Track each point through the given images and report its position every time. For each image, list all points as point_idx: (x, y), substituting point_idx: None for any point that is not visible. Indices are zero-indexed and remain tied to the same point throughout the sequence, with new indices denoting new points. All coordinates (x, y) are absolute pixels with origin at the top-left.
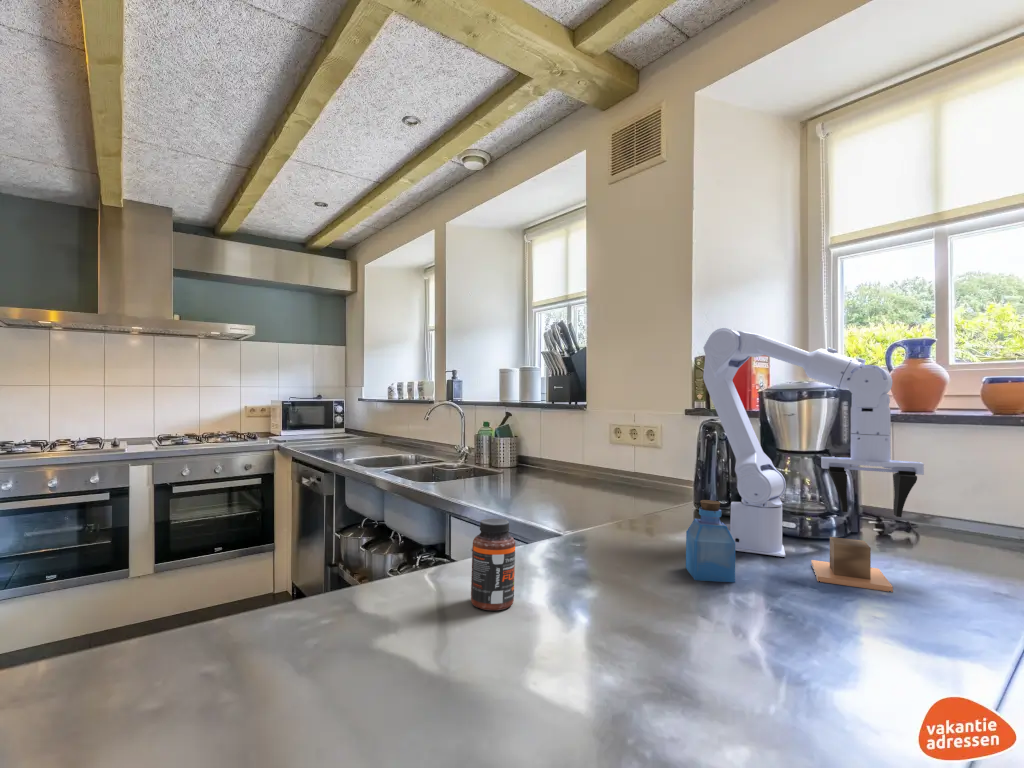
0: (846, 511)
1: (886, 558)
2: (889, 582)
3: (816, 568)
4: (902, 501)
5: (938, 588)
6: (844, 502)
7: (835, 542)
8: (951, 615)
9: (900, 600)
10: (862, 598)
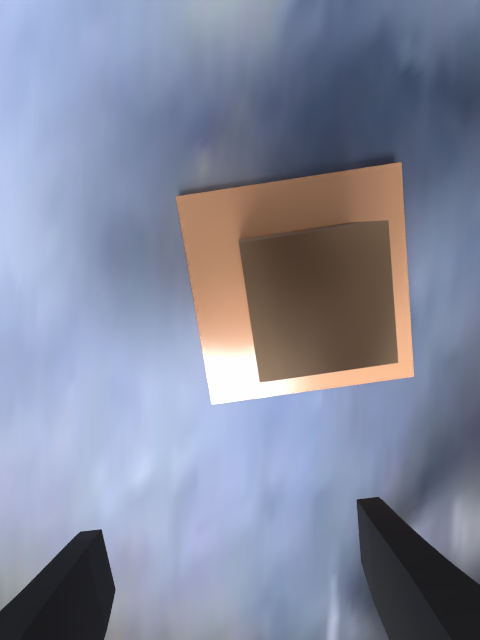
0: (362, 502)
1: (187, 591)
2: (184, 245)
3: (401, 268)
4: (19, 605)
5: (58, 337)
6: (397, 528)
7: (380, 255)
8: (29, 47)
9: (159, 115)
10: (265, 53)
